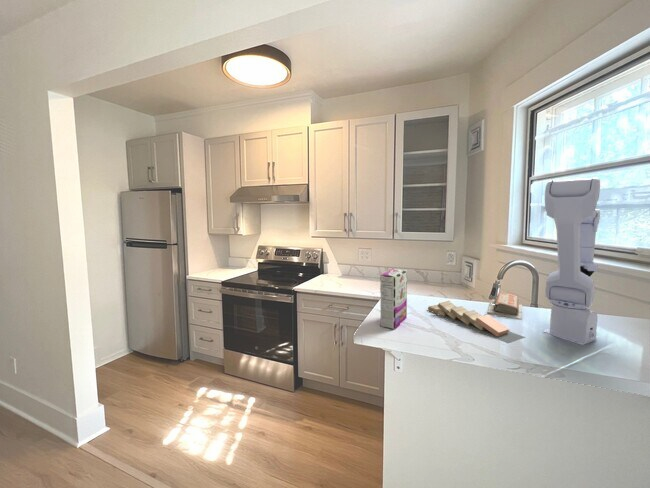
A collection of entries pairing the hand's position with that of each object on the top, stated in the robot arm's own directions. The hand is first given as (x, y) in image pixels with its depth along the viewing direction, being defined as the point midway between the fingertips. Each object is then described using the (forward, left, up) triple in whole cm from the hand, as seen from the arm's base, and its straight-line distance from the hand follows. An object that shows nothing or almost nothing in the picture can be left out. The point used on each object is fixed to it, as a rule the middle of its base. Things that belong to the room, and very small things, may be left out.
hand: (578, 289), depth 91 cm
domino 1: (+22, +31, -9) cm, 39 cm away
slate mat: (+12, +31, -10) cm, 35 cm away
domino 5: (+4, +31, -9) cm, 33 cm away
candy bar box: (+26, +52, -11) cm, 59 cm away
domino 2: (+18, +31, -9) cm, 37 cm away
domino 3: (+13, +31, -9) cm, 35 cm away
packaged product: (+17, +9, -11) cm, 22 cm away
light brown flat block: (+8, +31, -9) cm, 33 cm away
